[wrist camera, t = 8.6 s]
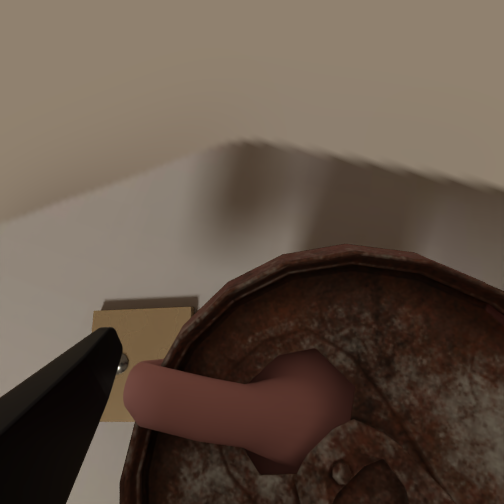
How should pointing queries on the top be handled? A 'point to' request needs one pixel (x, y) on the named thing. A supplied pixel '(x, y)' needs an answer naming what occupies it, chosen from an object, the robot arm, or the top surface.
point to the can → (326, 388)
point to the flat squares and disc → (138, 345)
